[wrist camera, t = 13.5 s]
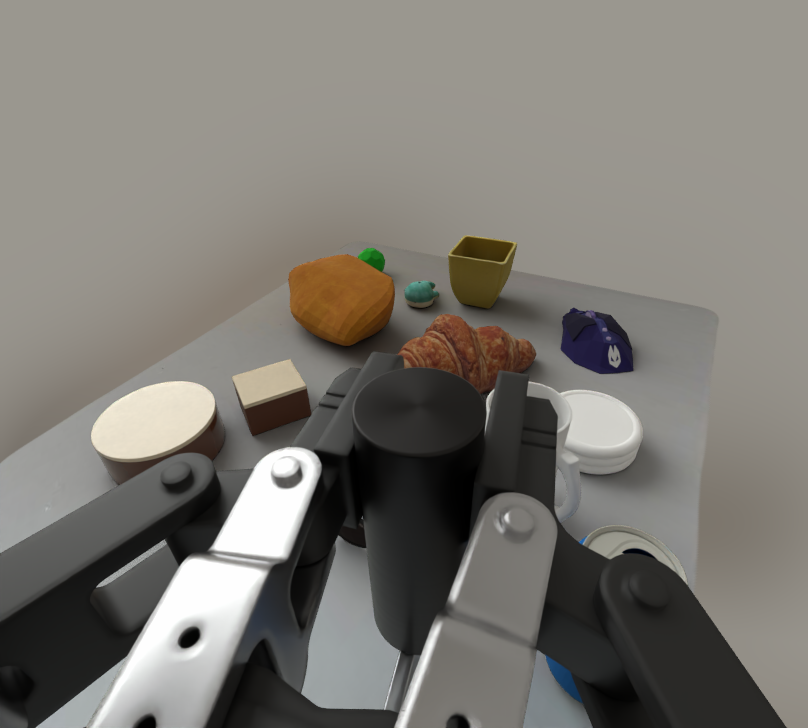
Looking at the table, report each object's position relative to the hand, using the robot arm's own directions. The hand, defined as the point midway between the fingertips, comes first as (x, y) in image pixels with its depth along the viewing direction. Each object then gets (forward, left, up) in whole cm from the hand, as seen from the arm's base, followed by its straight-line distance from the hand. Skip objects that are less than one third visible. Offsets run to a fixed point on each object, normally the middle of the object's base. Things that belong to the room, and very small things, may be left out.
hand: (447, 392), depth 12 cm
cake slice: (+1, +38, -30) cm, 48 cm away
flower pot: (+38, +48, -30) cm, 68 cm away
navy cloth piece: (+44, +30, -30) cm, 61 cm away
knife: (-2, -2, -14) cm, 14 cm away
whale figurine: (+30, +53, -30) cm, 68 cm away
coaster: (+29, +16, -30) cm, 44 cm away
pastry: (+24, +33, -30) cm, 50 cm away
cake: (-11, +38, -30) cm, 49 cm away
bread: (+15, +52, -30) cm, 61 cm away
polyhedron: (+27, +66, -30) cm, 77 cm away
